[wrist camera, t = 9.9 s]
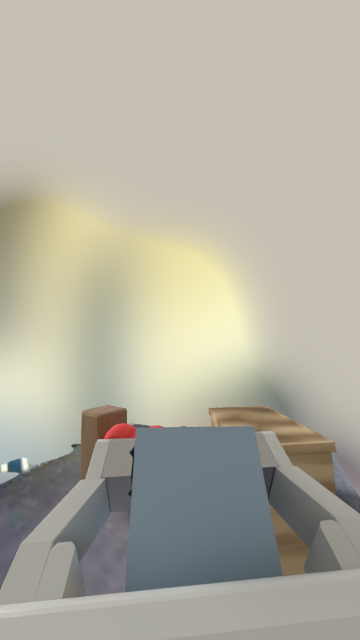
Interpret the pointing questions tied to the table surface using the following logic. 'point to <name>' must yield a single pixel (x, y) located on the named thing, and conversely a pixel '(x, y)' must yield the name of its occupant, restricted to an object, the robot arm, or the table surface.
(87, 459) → the block
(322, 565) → the robot arm
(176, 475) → the blue bar
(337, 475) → the table surface
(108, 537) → the table surface
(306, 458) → the oak stand
